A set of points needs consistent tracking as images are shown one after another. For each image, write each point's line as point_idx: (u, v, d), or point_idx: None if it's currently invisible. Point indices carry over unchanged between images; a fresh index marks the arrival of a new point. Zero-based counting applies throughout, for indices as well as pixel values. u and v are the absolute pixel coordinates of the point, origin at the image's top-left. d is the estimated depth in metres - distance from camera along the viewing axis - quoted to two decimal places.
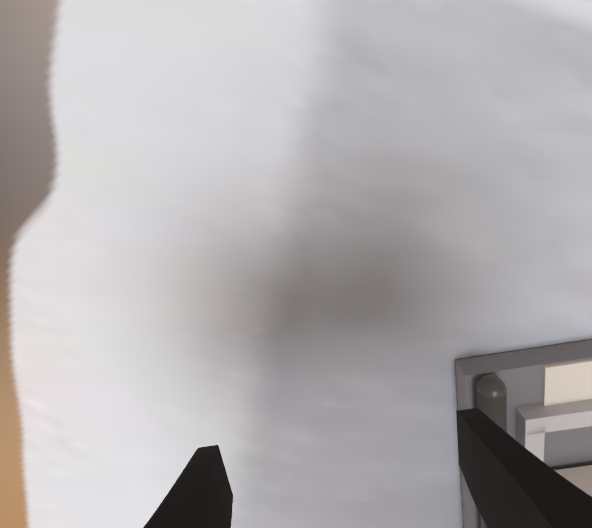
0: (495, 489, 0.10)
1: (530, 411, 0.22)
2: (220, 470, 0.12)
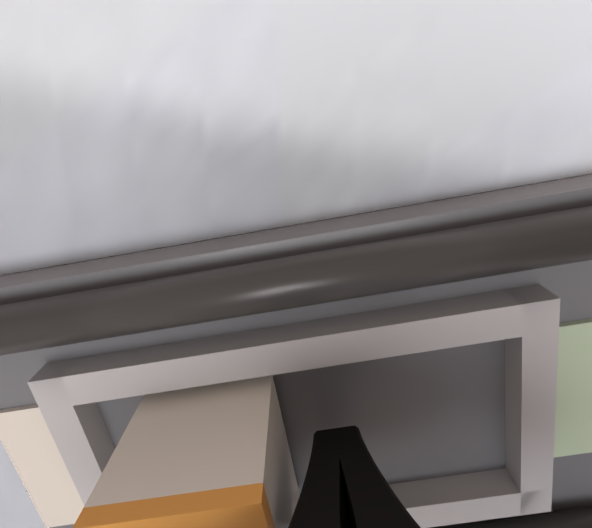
0: (350, 509, 0.10)
1: None
2: None
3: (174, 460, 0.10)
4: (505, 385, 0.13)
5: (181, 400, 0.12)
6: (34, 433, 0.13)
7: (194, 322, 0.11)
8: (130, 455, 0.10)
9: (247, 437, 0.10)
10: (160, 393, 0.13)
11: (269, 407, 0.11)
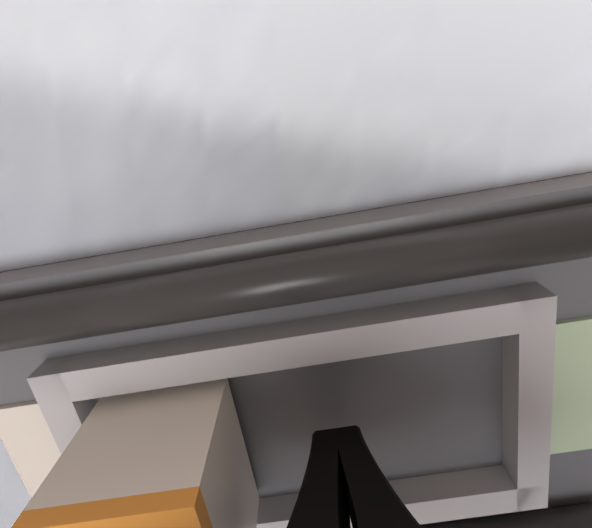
0: (351, 508, 0.10)
1: None
2: None
3: (118, 463, 0.10)
4: (502, 382, 0.13)
5: (135, 403, 0.12)
6: (33, 429, 0.13)
7: (193, 318, 0.11)
8: (76, 458, 0.10)
9: (192, 441, 0.10)
10: (116, 396, 0.13)
11: (218, 411, 0.11)
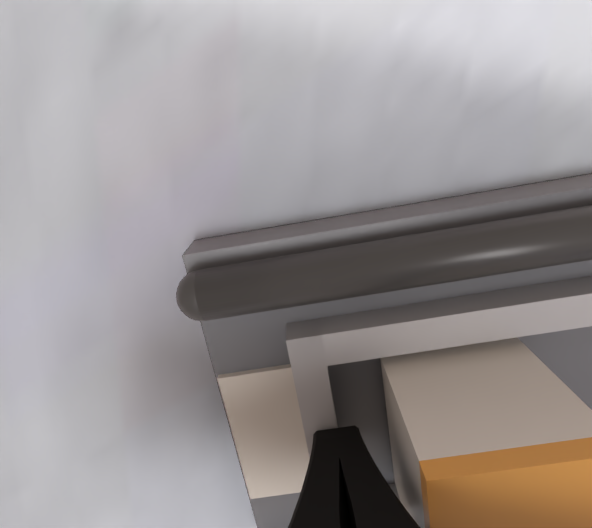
0: (350, 508, 0.10)
1: None
2: None
3: (483, 415, 0.09)
4: None
5: (432, 361, 0.12)
6: (261, 398, 0.13)
7: (481, 275, 0.10)
8: (424, 412, 0.10)
9: (550, 393, 0.10)
10: (399, 356, 0.12)
11: (544, 366, 0.11)
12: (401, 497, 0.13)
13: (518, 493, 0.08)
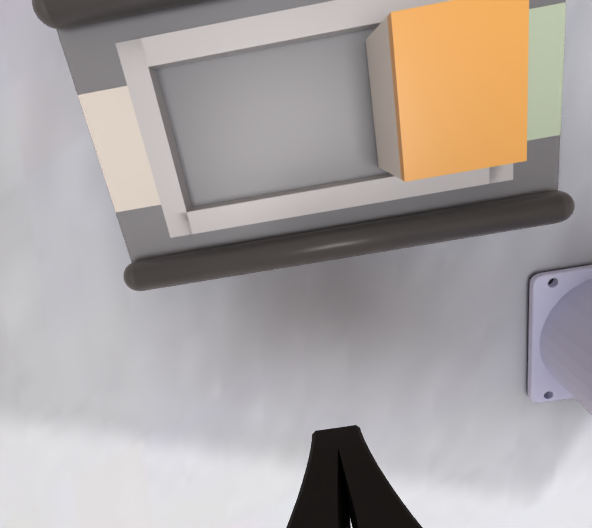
0: (351, 508, 0.10)
1: None
2: None
3: None
4: None
5: None
6: (112, 114, 0.17)
7: None
8: None
9: None
10: None
11: None
12: (382, 155, 0.17)
13: (453, 25, 0.12)
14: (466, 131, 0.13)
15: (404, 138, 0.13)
